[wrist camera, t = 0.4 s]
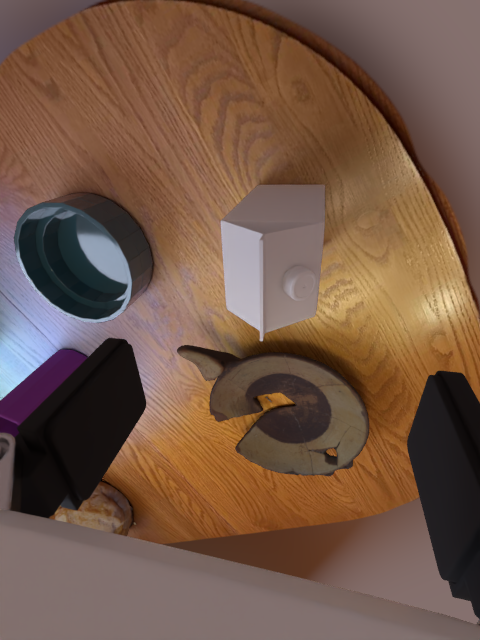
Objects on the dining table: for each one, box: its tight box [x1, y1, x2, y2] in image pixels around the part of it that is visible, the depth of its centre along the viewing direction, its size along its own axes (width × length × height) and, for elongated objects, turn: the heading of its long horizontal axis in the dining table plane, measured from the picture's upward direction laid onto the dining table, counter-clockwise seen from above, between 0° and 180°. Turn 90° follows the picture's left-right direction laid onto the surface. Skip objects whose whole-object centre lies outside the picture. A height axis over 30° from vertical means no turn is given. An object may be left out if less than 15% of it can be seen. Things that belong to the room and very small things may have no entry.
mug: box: [0, 350, 87, 437], centre depth 53 cm, size 9×16×15 cm, turn 23°
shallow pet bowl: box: [14, 193, 153, 323], centre depth 41 cm, size 15×15×6 cm
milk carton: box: [221, 185, 325, 341], centre depth 28 cm, size 7×7×19 cm
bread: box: [55, 481, 136, 536], centre depth 78 cm, size 25×27×15 cm
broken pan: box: [177, 345, 369, 476], centre depth 46 cm, size 22×30×8 cm
